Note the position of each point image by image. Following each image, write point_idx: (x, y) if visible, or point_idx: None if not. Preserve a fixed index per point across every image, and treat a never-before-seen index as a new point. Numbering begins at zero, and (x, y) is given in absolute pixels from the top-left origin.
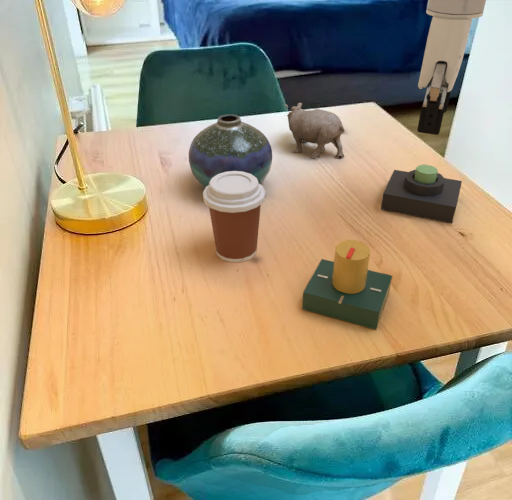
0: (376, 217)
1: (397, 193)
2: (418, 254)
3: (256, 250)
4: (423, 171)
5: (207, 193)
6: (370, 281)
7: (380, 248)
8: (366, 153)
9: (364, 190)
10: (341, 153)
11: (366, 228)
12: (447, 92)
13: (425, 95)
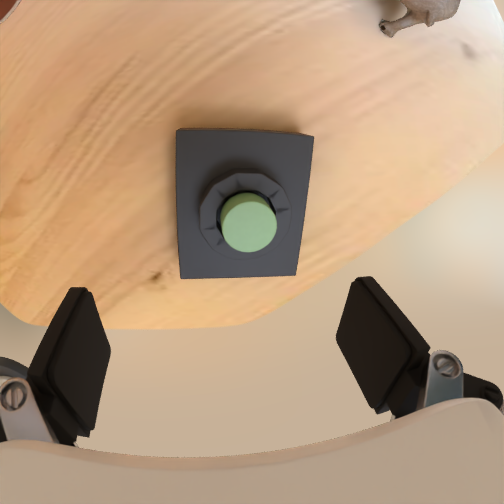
0: (145, 129)
1: (188, 161)
2: (68, 227)
3: (1, 21)
4: (232, 222)
5: None
6: None
7: (55, 169)
8: (416, 81)
9: (255, 80)
10: (389, 29)
11: (99, 124)
12: (370, 396)
13: (5, 432)
